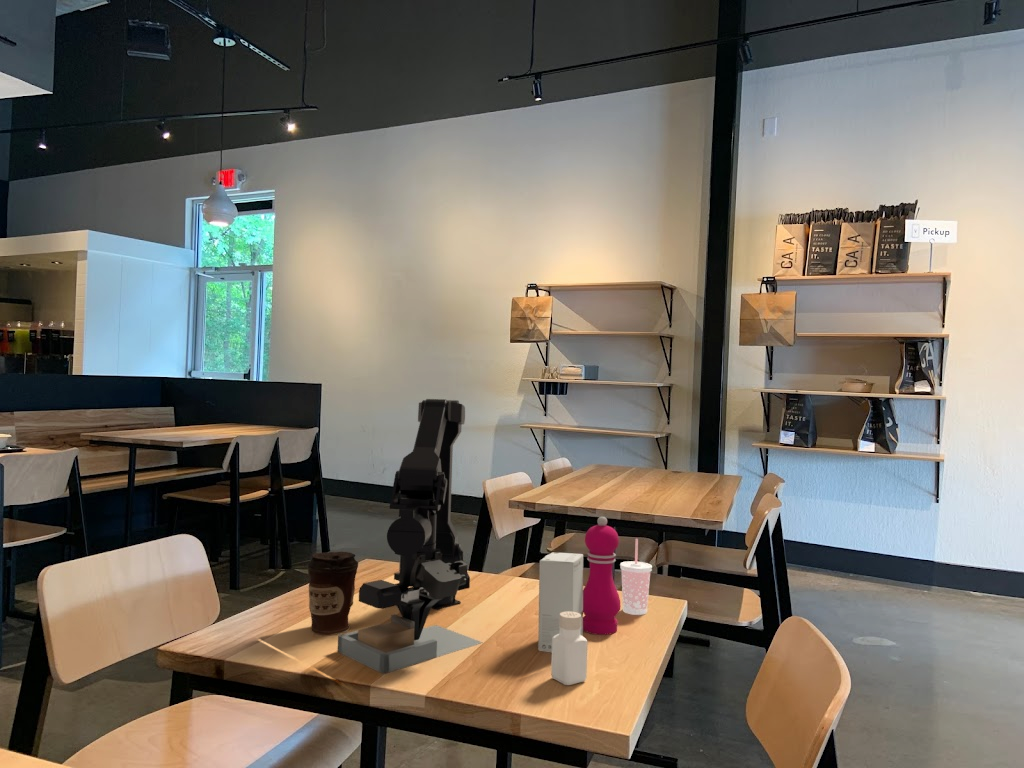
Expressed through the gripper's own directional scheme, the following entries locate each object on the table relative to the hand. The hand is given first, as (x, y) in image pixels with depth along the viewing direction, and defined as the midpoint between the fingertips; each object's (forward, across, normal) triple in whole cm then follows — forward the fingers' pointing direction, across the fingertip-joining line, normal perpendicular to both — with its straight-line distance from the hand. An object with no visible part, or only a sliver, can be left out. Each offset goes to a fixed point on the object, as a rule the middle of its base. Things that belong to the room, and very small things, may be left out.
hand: (415, 639), depth 117 cm
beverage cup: (+2, +44, -12) cm, 46 cm away
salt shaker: (+2, +8, -25) cm, 26 cm away
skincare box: (+2, +18, -15) cm, 24 cm away
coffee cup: (+2, -6, +16) cm, 17 cm away
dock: (+1, 0, 0) cm, 1 cm away
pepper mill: (+2, +30, -14) cm, 34 cm away
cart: (+1, -6, 0) cm, 6 cm away
